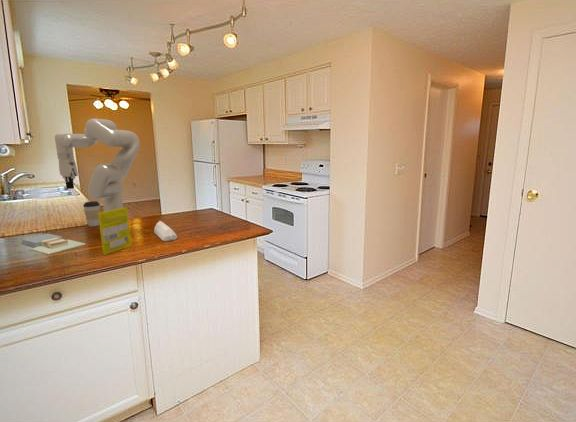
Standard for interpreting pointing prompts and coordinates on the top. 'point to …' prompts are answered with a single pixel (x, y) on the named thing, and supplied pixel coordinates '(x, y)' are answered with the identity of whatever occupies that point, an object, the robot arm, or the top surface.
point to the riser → (38, 239)
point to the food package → (114, 230)
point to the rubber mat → (49, 251)
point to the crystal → (164, 232)
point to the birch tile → (54, 243)
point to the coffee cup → (92, 212)
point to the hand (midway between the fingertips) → (70, 188)
